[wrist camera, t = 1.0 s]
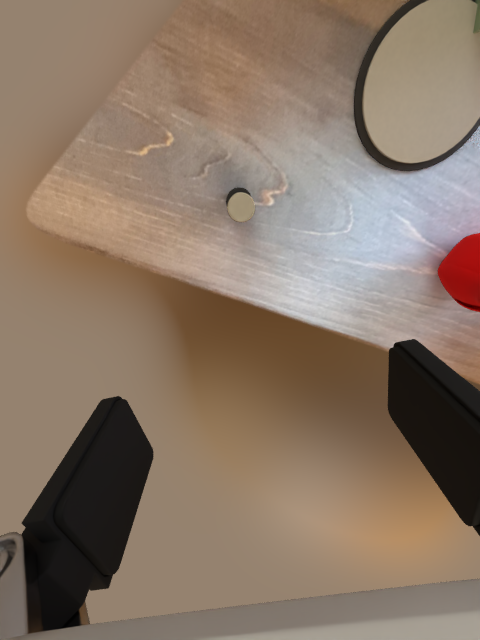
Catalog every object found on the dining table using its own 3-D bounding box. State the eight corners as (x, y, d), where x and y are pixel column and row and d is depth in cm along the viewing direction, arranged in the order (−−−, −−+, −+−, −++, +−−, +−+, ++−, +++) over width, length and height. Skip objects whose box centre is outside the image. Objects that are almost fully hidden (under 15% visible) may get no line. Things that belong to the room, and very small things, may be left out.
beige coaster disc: (355, 7, 20) (358, 2, 20) (520, -29, 20) (526, -34, 19) (352, 181, 26) (354, 181, 25) (482, 158, 25) (487, 157, 24)
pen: (224, 190, 26) (216, 188, 15) (249, 185, 26) (259, 180, 15) (229, 216, 27) (224, 232, 16) (252, 212, 27) (264, 226, 16)
